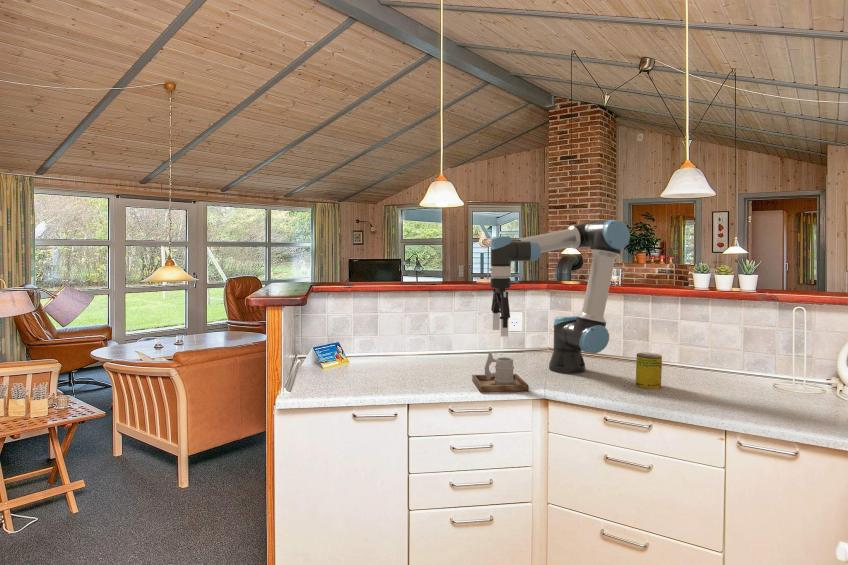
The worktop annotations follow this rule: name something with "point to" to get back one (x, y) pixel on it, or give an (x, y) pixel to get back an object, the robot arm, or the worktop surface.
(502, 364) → the mug
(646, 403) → the worktop surface
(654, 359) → the yellow tin can
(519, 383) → the tray
